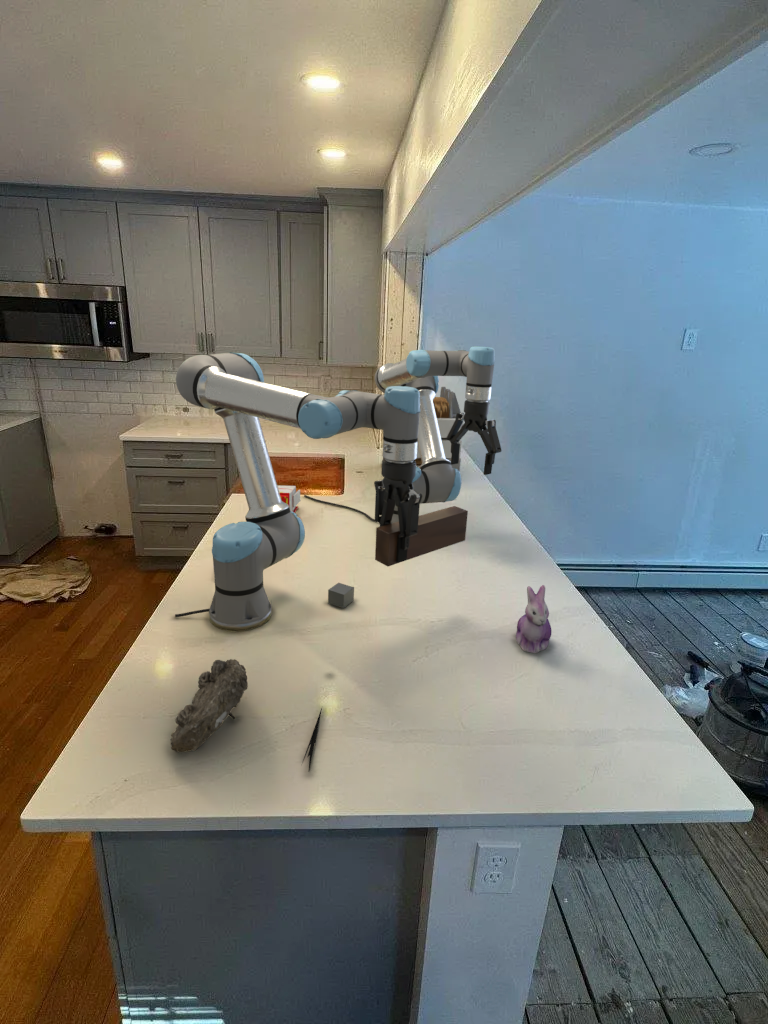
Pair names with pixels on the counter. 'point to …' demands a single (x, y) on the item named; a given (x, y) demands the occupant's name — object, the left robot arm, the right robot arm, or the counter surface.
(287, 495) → the toy
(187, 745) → the fossil
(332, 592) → the slate block
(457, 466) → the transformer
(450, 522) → the walnut beam
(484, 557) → the counter surface
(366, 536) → the counter surface
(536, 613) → the figurine
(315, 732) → the feather
